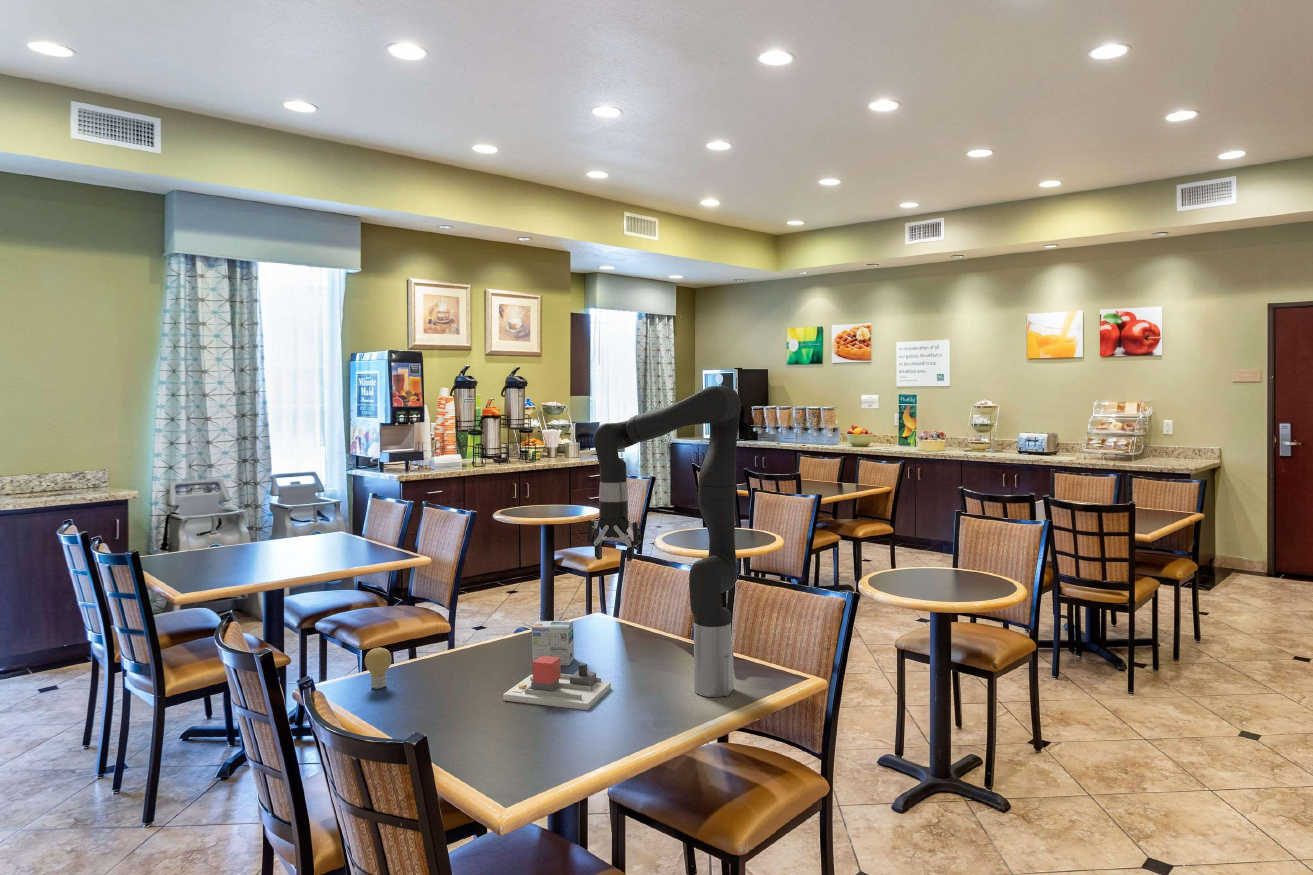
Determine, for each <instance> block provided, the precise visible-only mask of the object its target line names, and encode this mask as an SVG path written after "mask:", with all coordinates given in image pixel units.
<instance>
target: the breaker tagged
mask: <svg viewBox="0 0 1313 875" xmlns="http://www.w3.org/2000/svg"><path fill="white" fill-rule="evenodd" d="M558 688H559V679H558V680H557V681H555V682H554V683H553V684H544V683H534V682H533V681H532V682H531V689H534V690H543V691H553V692H554V691H555V690H556V689H558Z"/></svg>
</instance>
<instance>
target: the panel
mask: <svg viewBox="0 0 1313 875" xmlns="http://www.w3.org/2000/svg"><path fill="white" fill-rule="evenodd" d="M560 676H561V678H559V688H558V689H556V690H555V691H554V692H553V691H543V690H534V689H531V682H532V681H533V673H532V674H530V675H528V676H527V677H526V678H524V679H522V680H521V681H520V682H519V683H516V685H514V686H513V687H511V688H509V690H507V691H506V692H504V693H503V694H502V696H503V700H502V701H507V702H513V703H514V702H516V703H521V704H522V703H524V704H531V705H541V706H550V707H557V708H558V707H559V708H566V709H575V710H576V709H577V710H583V711H584V710H586V711H589V709H591V707H592V706H593V705H595V704H596V703H597V702H598V701H599V700H600V699H601V698H602V697H604V695H606V694H607V693H608V692H609V691H610V690H611V689H612V682H610V681H609V682H608V681H602V677H599V676H598V677H597V672H594V671H588V663H583V662H581V663H580V664H578V670H576V671H575V672H574V673H573V674H566V673H560Z"/></svg>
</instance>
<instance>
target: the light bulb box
mask: <svg viewBox="0 0 1313 875" xmlns="http://www.w3.org/2000/svg"><path fill="white" fill-rule="evenodd" d="M574 634H575V633H574V621H573V620H569V621H568V620H562V621H561V620H560V621H559V620H549V621H548V620H536V621H535V623H534V624H533V625H532V626H531V657H532V658H531V661H532V662H531V663H532V666H533V661H535V660H536V659H538V658H539V657H541V656H550V657H560V666H570V665H571V663H572V662H573V660H574V659H575V644H574V642H575V641H574Z"/></svg>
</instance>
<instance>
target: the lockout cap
mask: <svg viewBox="0 0 1313 875" xmlns="http://www.w3.org/2000/svg"><path fill="white" fill-rule="evenodd" d="M532 674H533V682H534V683H544V684H553V683H554V682H555V681H557V680H558V679H559V678H561V676H560V674H561V665H560V657H550V656H541V657H539V658H538V659H536V660H535V661H533V665H532Z"/></svg>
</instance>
